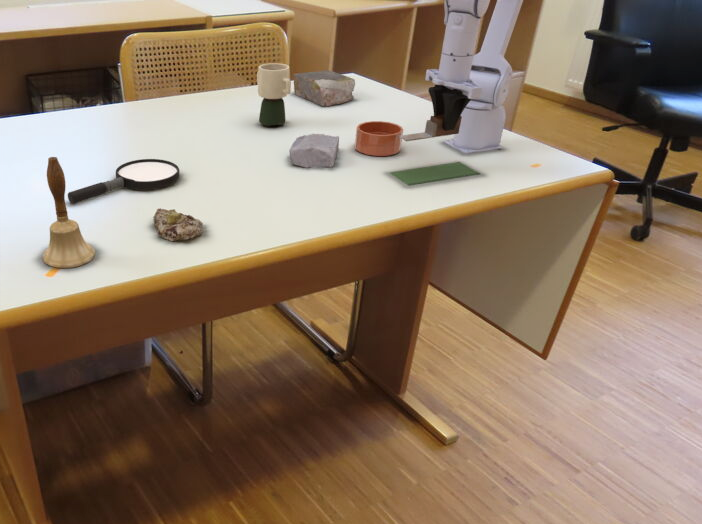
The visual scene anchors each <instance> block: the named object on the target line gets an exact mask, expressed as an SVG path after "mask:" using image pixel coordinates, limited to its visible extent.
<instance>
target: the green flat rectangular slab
mask: <svg viewBox="0 0 702 524" xmlns="http://www.w3.org/2000/svg"><path fill="white" fill-rule="evenodd" d="M389 174H390V175H391V176H393V177H394V178H396V179H398V180H400V181H401V182H402V183H404V184H406V186H408V187H409V186H410V187H411V186H417V185H423V184H430V183H435V182H441V181H448V180H453V179H460V178H461V179H462V178H466V177H472V176H479V175H481V173H480V172H479V171H476V170H475V169H473V168H471V167H469V166H468V165H466V164H465V163H462V162H460V161H457V162H450V163H444V164H438V165H437V164H436V165H431V166H425V167H417V168H411V169H404V170H398V171H391V172H389Z"/></svg>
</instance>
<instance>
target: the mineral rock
mask: <svg viewBox="0 0 702 524" xmlns="http://www.w3.org/2000/svg"><path fill="white" fill-rule="evenodd" d="M152 218H153V219H152V220H153V224H154V227H155V229H156V230H157V234H158V236H160V237H159V238H162V239H164V240H169V241H170V242H174V241H178V240H186V241H187V240H189V239H193V238H195V237H196V236H201V235H202V234H203V229H204V227H203V222H202V221H201V220H200V219H199V218H194V216H192V215H190V214H188V215H187V214H183V213H181V212H177V211H176V209H169V210H168V209H165V208H161V207H160V208H157V209H156V211H155V212H154V215H153V217H152Z"/></svg>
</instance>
